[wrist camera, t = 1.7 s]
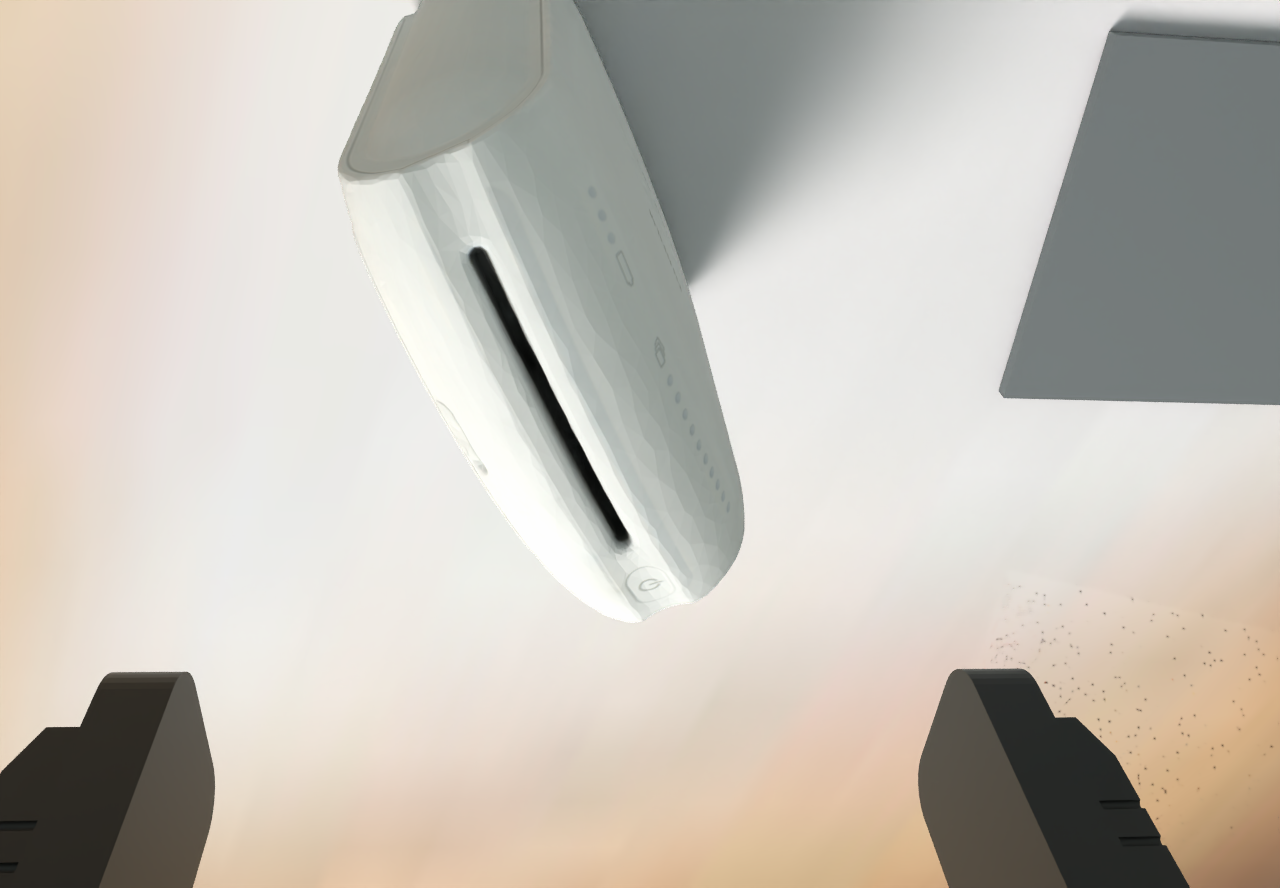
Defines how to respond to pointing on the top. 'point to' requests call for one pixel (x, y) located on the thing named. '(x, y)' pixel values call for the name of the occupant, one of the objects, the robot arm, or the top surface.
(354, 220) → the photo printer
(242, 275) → the top surface
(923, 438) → the top surface
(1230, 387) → the slate pad
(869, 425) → the top surface
